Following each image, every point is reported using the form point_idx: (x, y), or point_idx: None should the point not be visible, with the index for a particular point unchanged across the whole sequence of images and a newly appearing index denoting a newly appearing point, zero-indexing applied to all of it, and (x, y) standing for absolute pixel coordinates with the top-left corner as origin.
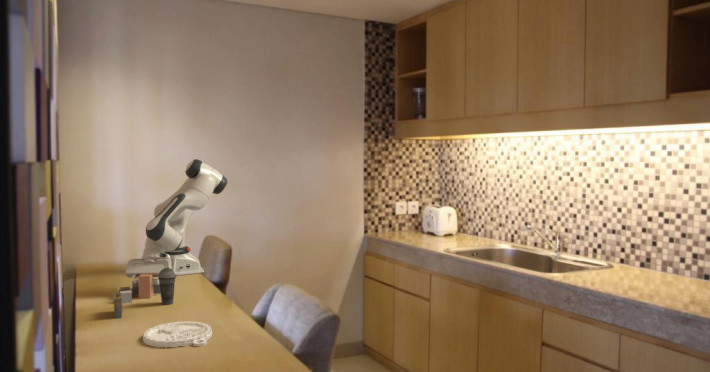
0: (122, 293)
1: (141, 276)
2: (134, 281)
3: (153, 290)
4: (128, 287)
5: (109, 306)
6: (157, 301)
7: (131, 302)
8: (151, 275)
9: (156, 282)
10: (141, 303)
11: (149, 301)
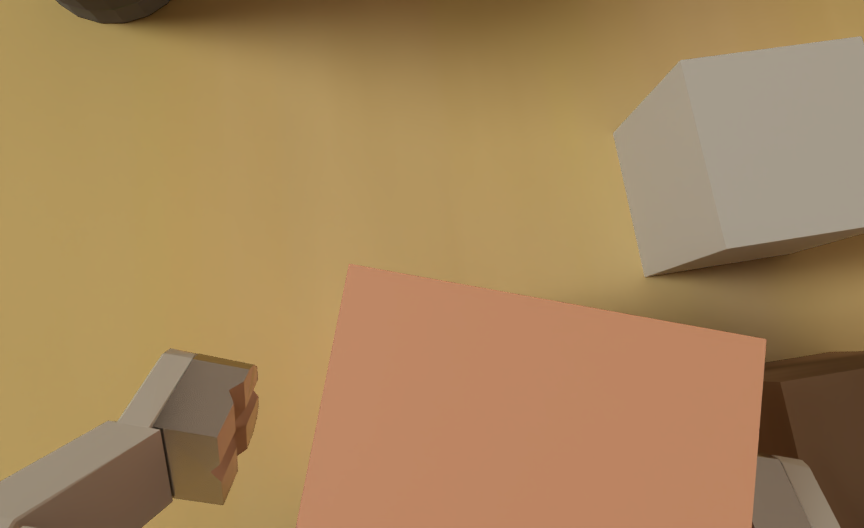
0: (827, 41)
1: (653, 323)
2: (799, 491)
3: None
4: (844, 525)
5: (858, 6)
6: (260, 103)
7: (618, 130)
8: (306, 483)
9: (202, 355)
10: (472, 51)
11: (374, 131)
